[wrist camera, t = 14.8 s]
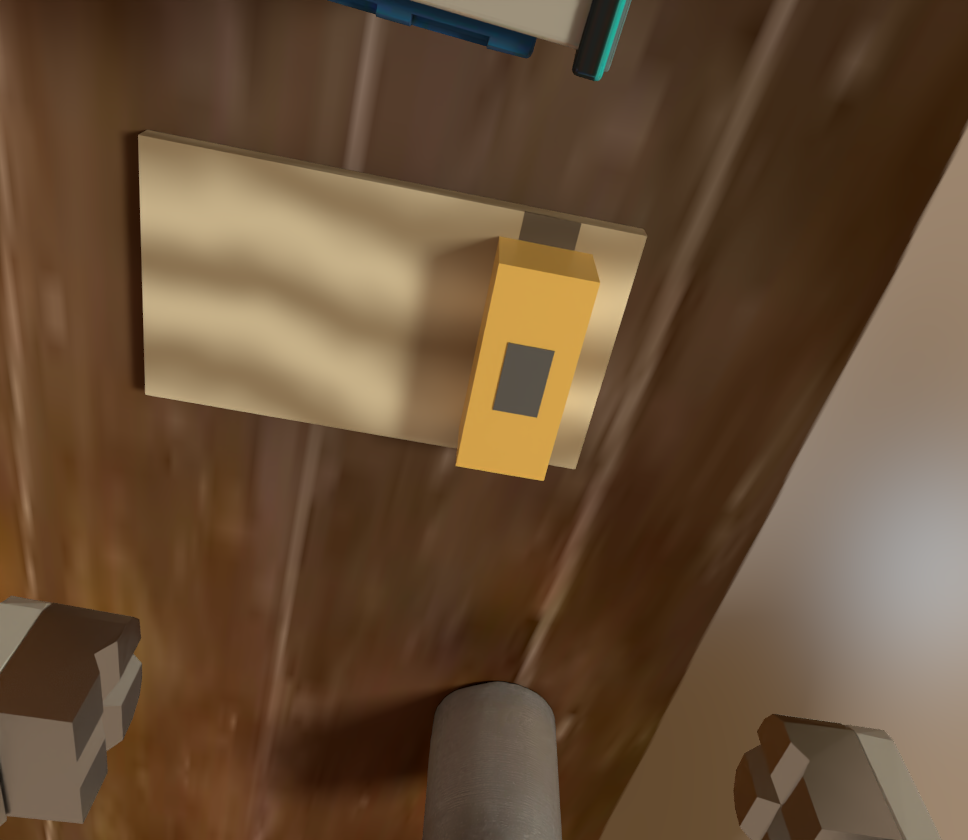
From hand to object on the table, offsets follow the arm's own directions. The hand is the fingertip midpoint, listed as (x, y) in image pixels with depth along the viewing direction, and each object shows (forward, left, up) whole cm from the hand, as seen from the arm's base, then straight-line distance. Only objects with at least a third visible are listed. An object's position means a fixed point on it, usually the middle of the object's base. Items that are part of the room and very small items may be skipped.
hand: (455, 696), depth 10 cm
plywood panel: (+11, -4, -35) cm, 37 cm away
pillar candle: (+44, +9, -35) cm, 57 cm away
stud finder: (+11, +4, -34) cm, 36 cm away
